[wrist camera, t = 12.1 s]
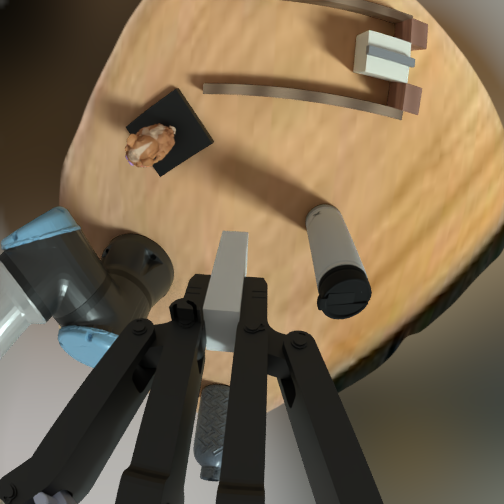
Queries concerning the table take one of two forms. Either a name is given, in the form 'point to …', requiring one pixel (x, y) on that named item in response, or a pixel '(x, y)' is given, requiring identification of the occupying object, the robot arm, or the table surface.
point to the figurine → (166, 134)
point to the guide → (398, 96)
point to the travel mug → (336, 264)
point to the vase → (211, 430)
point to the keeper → (382, 57)
